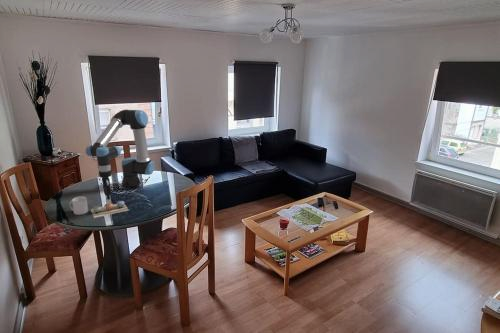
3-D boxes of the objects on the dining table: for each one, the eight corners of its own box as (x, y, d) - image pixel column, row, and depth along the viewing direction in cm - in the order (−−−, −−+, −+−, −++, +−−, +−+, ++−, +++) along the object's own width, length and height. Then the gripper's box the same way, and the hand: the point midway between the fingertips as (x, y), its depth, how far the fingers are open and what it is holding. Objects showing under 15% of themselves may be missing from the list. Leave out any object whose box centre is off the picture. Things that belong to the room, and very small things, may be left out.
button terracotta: (105, 209, 214) (104, 204, 213) (112, 207, 216) (112, 202, 215) (106, 211, 210) (106, 206, 209) (114, 210, 213) (113, 205, 212)
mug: (75, 209, 215) (73, 195, 212) (91, 211, 213) (89, 196, 210) (66, 215, 207) (64, 200, 204) (83, 216, 205) (80, 201, 202)
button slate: (116, 206, 218) (116, 201, 217) (123, 205, 221) (123, 200, 219) (118, 209, 214) (117, 204, 213) (125, 207, 217) (124, 202, 216)
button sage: (93, 211, 210) (92, 206, 209) (101, 209, 212) (100, 204, 211) (94, 214, 206) (93, 209, 205) (102, 212, 209) (101, 207, 207)
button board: (90, 211, 214) (90, 209, 213) (123, 204, 226) (123, 202, 225) (94, 219, 202) (94, 217, 201) (129, 211, 214) (129, 210, 213)
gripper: (96, 168, 208) (101, 201, 215) (100, 174, 198) (104, 207, 205) (108, 167, 212) (112, 198, 219) (113, 172, 202) (116, 205, 209)
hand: (108, 203), depth 212 cm, fingers closed
